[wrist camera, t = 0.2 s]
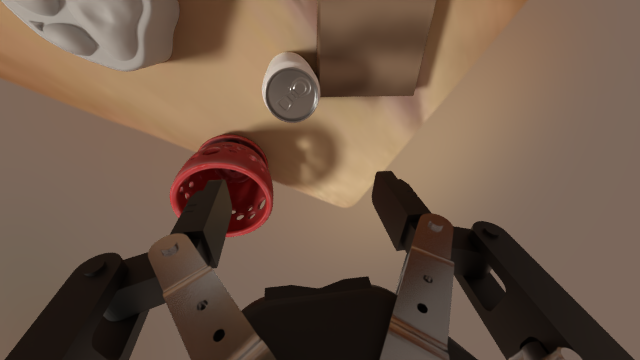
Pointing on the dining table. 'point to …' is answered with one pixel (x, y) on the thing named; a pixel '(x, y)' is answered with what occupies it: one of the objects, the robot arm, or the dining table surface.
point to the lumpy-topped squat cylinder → (105, 28)
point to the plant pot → (229, 180)
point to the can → (290, 88)
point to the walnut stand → (371, 46)
